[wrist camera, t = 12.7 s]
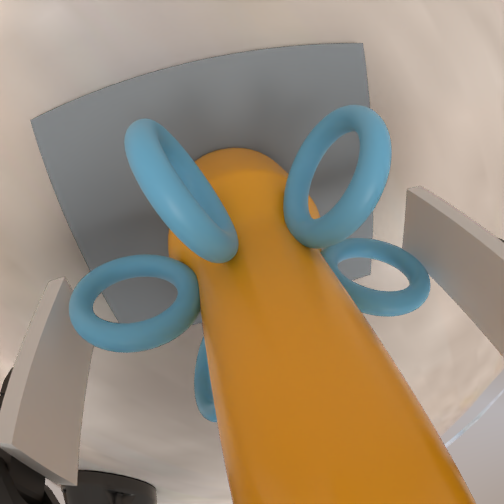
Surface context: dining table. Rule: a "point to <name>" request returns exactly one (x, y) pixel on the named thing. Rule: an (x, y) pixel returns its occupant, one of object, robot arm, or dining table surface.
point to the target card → (197, 147)
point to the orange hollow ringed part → (283, 320)
